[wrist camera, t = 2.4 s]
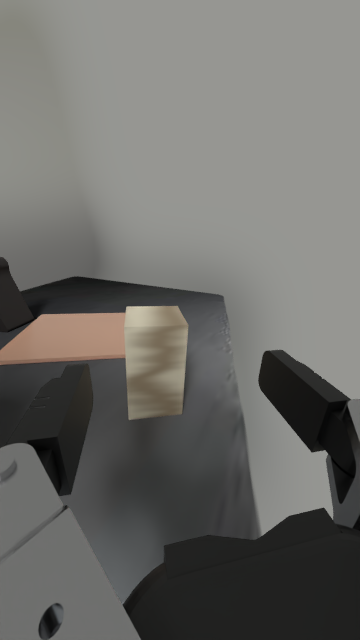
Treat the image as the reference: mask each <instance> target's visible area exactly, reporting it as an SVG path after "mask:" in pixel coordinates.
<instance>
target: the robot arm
mask: <svg viewBox="0 0 360 640" xmlns="http://www.w3.org/2000/svg"><path fill="white" fill-rule="evenodd" d="M258 381H259V386H260V389H261V391H262V392H263V393H264V395H265V396H266V397H267V398H268V399H269V401H270V402H271V403H272V404H273V406H274V407H275V408H276V409H277V410H278V412H279V413H280V414H281V415H282V416H283V418H284V419H285V420H286V421H287V423H288V424H289V425H290V426H291V428H292V429H293V430H294V431H295V432H296V434H297V435H298V436H299V437H300V438H301V440H302V441H303V442H304V443H305V444H306V446H307V447H308V448H309V449H310V451H311V452H317V451H323V450H326V452H327V453H328V455H327V458H326V463H327V471H328V477H329V484H330V490H331V497H332V504H333V513H334V514H333V515H334V516H333V520H332V518H331V517H330V516H329V514H328V513H327V511H326V510H325V508H321V509H316V510H312V511H308V512H304V513H300V514H296V515H291V516H289V517H287V518H286V519H284V520H283V521H282V522H280V523H279V524H278V525H276V526H275V527H274V528H272V529H271V530H270V531H268V532H267V533H266V534H264V535H263V536H261V537H260V538H258V539H256V540H247V539H238V538H229V537H220V536H211V535H207V536H203V537H198V538H194V539H190V540H186V541H181V542H177V543H173V544H169V545H165V546H164V563H162V564H161V565H159V566H158V567H156V568H155V569H154V570H153V571H151V572H150V573H149V574H148V575H147V576H146V577H145V578H144V579H143V580H142V581H141V582H140V583H139V584H138V585H137V586H136V588H135V589H134V590H133V591H132V593H131V594H130V595H129V597H128V598H127V600H126V601H125V602H124V604H123V605H122V603H121V602H120V600H119V598H118V596H117V594H116V592H115V590H114V589H113V587H112V585H111V583H110V581H109V579H108V578H107V576H106V574H105V572H104V570H103V568H102V566H101V565H100V563H99V561H98V559H97V557H96V555H95V553H94V552H93V550H92V548H91V546H90V544H89V542H88V540H87V539H86V537H85V535H84V533H83V531H82V529H81V527H80V526H79V524H78V522H77V520H76V518H75V516H74V515H73V513H72V511H71V510H70V508H69V507H68V506H67V505H66V506H64V505H63V503H62V501H61V500H60V498H59V496H63V495H69V494H71V492H72V488H73V484H74V480H75V476H76V472H77V468H78V464H79V460H80V456H81V452H82V448H83V444H84V440H85V436H86V432H87V428H88V424H89V420H90V416H91V412H92V407H93V391H92V384H91V377H90V370H89V365H88V364H73V365H67V366H66V368H65V370H64V372H63V374H62V376H61V377H60V378H54V379H52V380H50V381H49V382H48V383H47V384H45V385H44V386H43V387H42V388H41V389H40V391H39V392H38V394H37V396H36V397H35V400H33V402H32V404H31V405H30V407H29V409H28V410H27V412H26V413H25V415H24V416H23V418H22V420H21V421H20V423H19V424H18V426H17V428H16V429H15V431H14V432H13V434H12V436H11V437H10V439H9V440H8V442H7V444H6V445H5V446H4V447H2V448H0V640H360V399H353V400H351V399H350V398H348V397H347V396H345V395H344V394H343V393H342V392H340V391H339V390H338V389H336V388H335V387H334V386H332V385H331V384H330V383H328V382H327V381H326V380H324V379H322V377H320V376H319V375H318V374H316V373H314V371H312V370H311V369H310V368H309V367H307V366H306V365H304V364H302V363H300V362H298V361H296V360H295V359H294V358H292V357H291V356H290V355H288V354H287V353H286V352H284V351H283V350H272V351H265V352H264V354H263V357H262V363H261V368H260V374H259V380H258Z"/></svg>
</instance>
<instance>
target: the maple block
mask: <svg viewBox="0 0 360 640" xmlns="http://www.w3.org/2000/svg"><path fill="white" fill-rule="evenodd" d="M124 335H125V356H126V376H127V396H128V416H129V420H133V419H142V418H151V417H160V416H169V415H178V414H182V409H183V395H184V380H185V365H186V351H187V336H188V324H187V322H186V320H185V319H184V317H183V315H182V314H181V312H180V310H179V308H178V307H177V306H142V307H126V315H125V324H124Z"/></svg>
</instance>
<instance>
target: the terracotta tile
mask: <svg viewBox="0 0 360 640" xmlns="http://www.w3.org/2000/svg"><path fill="white" fill-rule="evenodd" d="M125 315H126V313H95V314H42V315H41V316H39V317H38V318H37V319H36V320H35V321H34V322H32V323H31V324H30V325H29V326H28V327H27V328H26V329H24V330H23V331H22V332H21V333H20V334H19V335H17V336H16V337H15V338H14V339H13V340H12V341H11V342H9V343H8V344H7V345H6V346H5V347H4V348H2V349H1V350H0V365H6V364H24V363H42V362H59V361H77V360H95V359H112V358H126V356H125V335H124V324H125Z"/></svg>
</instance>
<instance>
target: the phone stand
mask: <svg viewBox="0 0 360 640" xmlns="http://www.w3.org/2000/svg"><path fill="white" fill-rule="evenodd" d="M33 320H34V317H33V315H32V313H31V311H30V310H29V308H28V306H27V304H26V302H25V300H24V298H23V297H22V295H21V293H20V291H19V289H18V287H17V286H16V284H15V282H14V280H13V278H12V276H11V274H10V271H9V265H8V262H7V261H6V260H5V259H4V258H3V257H0V332H9V331H11V330H13V329H15V328H18V327H20V326H22V325H24V324H26V323H29V322H31V321H33Z"/></svg>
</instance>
